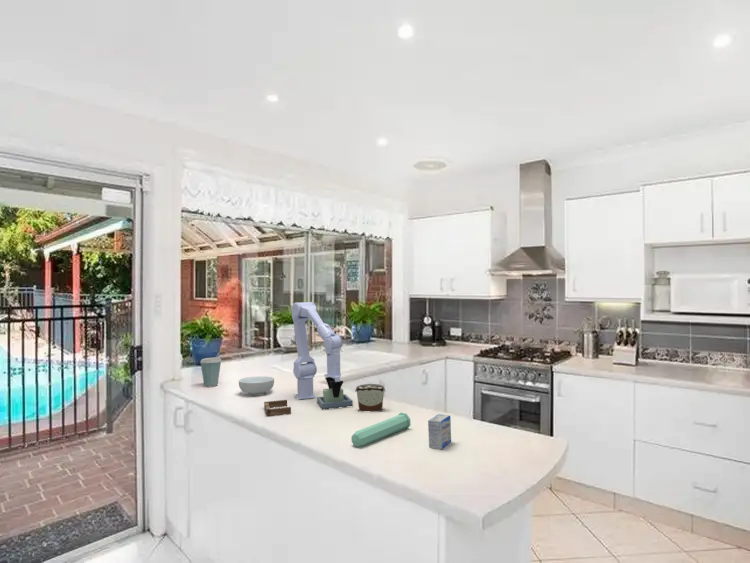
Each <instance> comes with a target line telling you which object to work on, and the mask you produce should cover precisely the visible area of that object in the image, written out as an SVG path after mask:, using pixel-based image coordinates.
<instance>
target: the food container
mask: <svg viewBox="0 0 750 563" xmlns="http://www.w3.org/2000/svg"><path fill="white" fill-rule="evenodd" d="M355 387H356V388H355V392H356V396H357V404H358V412H359V411H370V413H371V412H372V413H373V412H375V413H376V412H377V413H378V412H379V413H381V412H383V408H384V407H383V406H384V405H383V404H384V394H385V392H386V388H385V386H384V385H383V384H379V383H365V384H364V383H363V384H360V385H357V386H355ZM355 392H354V393H355Z"/></svg>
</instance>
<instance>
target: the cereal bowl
mask: <svg viewBox="0 0 750 563" xmlns="http://www.w3.org/2000/svg"><path fill="white" fill-rule="evenodd" d="M238 386H239V387H238V388H239V389H240V390H241V391H242V392H244V393H246V394H248V395H249V396H260V395H261V396H262V395H264V394H266V393H267V392H269V391H271V390H272V389H273V387H274V386H275V378H274V377H273V376H269V375H267V376H266V375H258V376H257V375H256V376H255V375H254V376H247V377H242V378H240V379H239V380H238Z"/></svg>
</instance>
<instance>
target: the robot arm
mask: <svg viewBox="0 0 750 563" xmlns="http://www.w3.org/2000/svg"><path fill="white" fill-rule="evenodd" d="M290 310H291V317H292V318H291V319H292V321H293V329H294V335H295V336H294V337H295V342H296V351H297V358H296V359H295V360H294V362H293V370H292V373H293V375H294V377H295V378H296V379H297V380H296V382H297V393H295V396H296V398H297V400H305V399H306V400H307V399H314V398H315V399H317V397H316V395H315V394H314V378H315V375H317V371H318V370H317V369H318V368H317V365H316V362H315V359H314V358H313V357H312V356H310V349H309V342H308V333H307V328H306V322H307V321H308V320H310V321H311V322H312V324H313V325H314V326H315V327H316V328H317V329H316V332H317V333H318V335H319V337H320V338H321V339H322V341H323V347H324V349H325V353H326V374H325V373H324V377H325V378H324V379H325V381H326V384H327V387H328V389H330V388H332V391H333V396H334V398H337V397H339V394H340V389H341V388H342V386H343V384H344V381H343V380H341V377H342V374H341V348H342V347H343V343H344V342H343V338H342V337H341V335H339V334H336V333H335V332H334V330H333V329H332V328H331V327H330V325H329V324H328V323H326V322H325V323H324V321H323V320H322V318H321V317H320V314H319V313H318V311H317V306H316V305H315V303H314V302H313V301H307V302H306V301H305V302H303V301H302V302H297V301H296V302H294V303H293V304H292V306H291V308H290Z"/></svg>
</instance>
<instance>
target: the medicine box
mask: <svg viewBox="0 0 750 563" xmlns="http://www.w3.org/2000/svg"><path fill="white" fill-rule="evenodd" d="M427 423H428V424H427V426H428V427H427V428H428V429H427V431H428V446H429V448H431V449H437V450H443V449H444V448H445V447H447V446H448V445H449V444H450V443H452V430H451V429H452V426H451V425H452V424H451V423H452V422H451V415H450V414H449V415H448V414H443V413H438V414H437V415H435V416H433V417H432V418H430V419H428V421H427Z"/></svg>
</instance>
